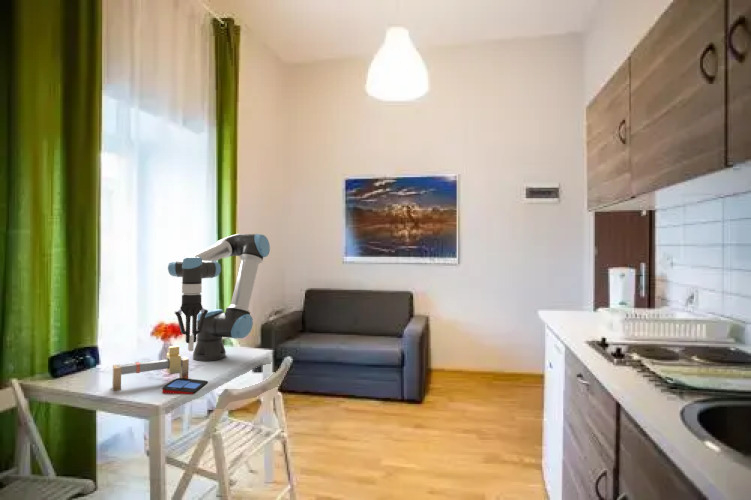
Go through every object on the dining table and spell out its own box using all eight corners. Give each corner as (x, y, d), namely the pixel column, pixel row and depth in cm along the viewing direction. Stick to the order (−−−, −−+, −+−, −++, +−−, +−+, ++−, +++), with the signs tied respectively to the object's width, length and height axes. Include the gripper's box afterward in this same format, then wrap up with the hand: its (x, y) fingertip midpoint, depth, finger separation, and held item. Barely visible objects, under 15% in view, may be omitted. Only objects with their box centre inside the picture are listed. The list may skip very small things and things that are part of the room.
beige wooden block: (177, 368, 183) (177, 344, 183) (180, 373, 177) (181, 347, 177) (166, 370, 180) (166, 345, 180) (169, 374, 175) (170, 349, 175)
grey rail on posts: (185, 376, 184) (185, 356, 184) (188, 379, 180) (188, 358, 180) (112, 387, 169) (112, 364, 169) (113, 391, 165) (113, 367, 164)
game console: (193, 395, 163) (193, 389, 163) (159, 394, 163) (159, 388, 163) (208, 383, 177) (208, 377, 177) (177, 382, 177) (177, 377, 177)
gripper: (205, 292, 189) (204, 346, 189) (173, 293, 182) (172, 350, 182) (210, 294, 183) (209, 350, 183) (176, 295, 175) (175, 354, 176)
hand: (190, 350), depth 182 cm, fingers closed
